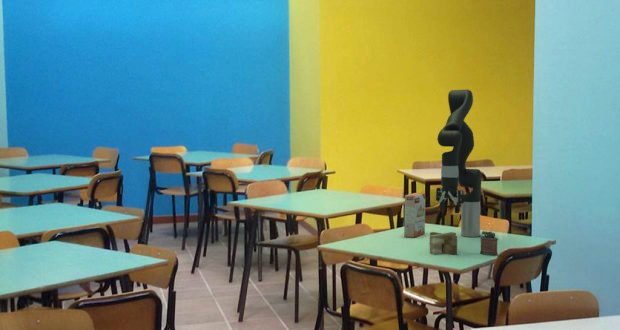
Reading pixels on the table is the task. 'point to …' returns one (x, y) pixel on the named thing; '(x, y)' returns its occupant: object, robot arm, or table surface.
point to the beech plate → (438, 242)
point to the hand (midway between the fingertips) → (449, 212)
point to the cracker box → (414, 215)
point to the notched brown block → (448, 244)
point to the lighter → (488, 244)
